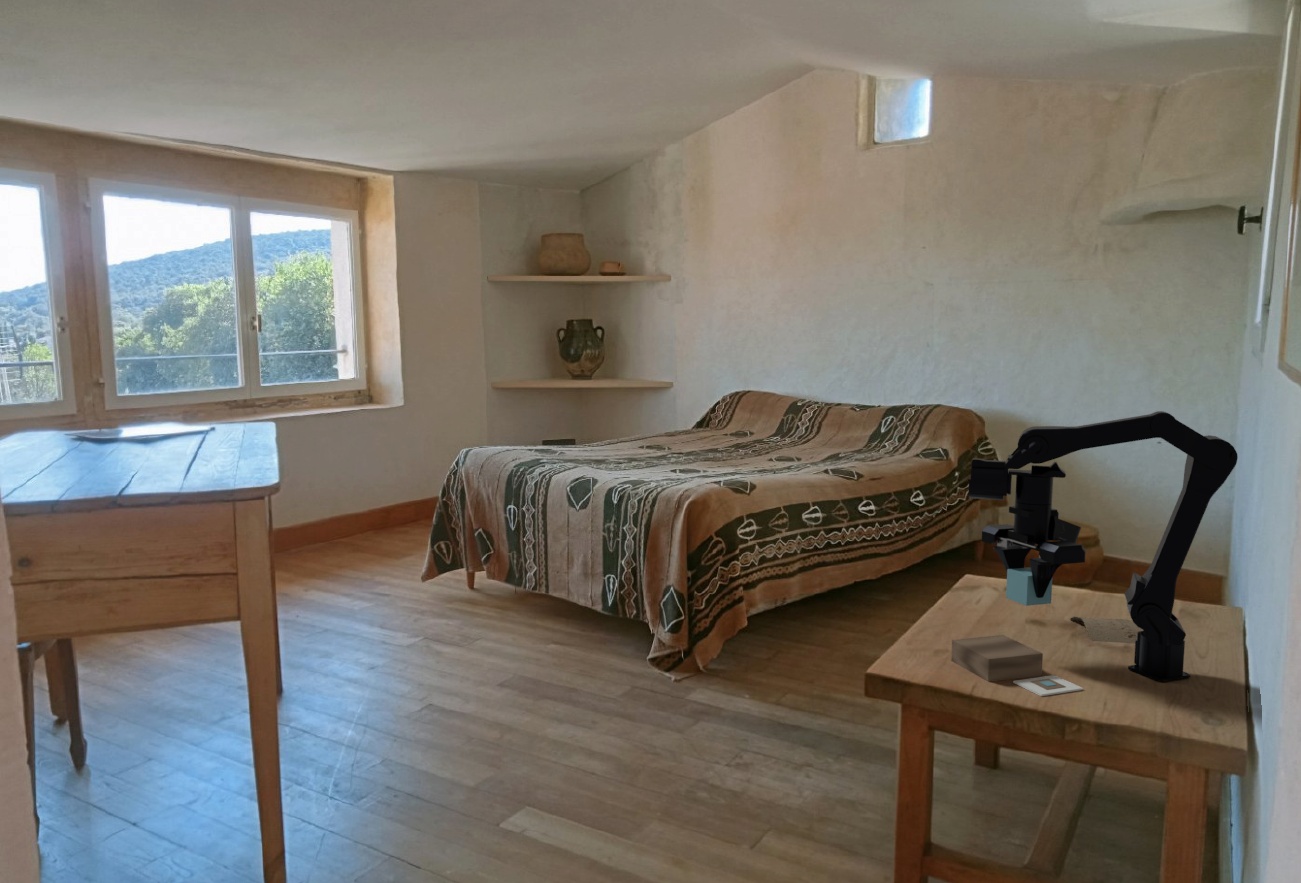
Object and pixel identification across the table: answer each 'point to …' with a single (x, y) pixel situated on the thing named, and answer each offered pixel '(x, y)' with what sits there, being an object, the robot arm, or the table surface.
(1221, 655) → the table surface
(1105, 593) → the table surface
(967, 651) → the walnut block
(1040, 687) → the card
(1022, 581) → the teal cube
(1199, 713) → the table surface
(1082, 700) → the table surface
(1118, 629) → the clay tablet
